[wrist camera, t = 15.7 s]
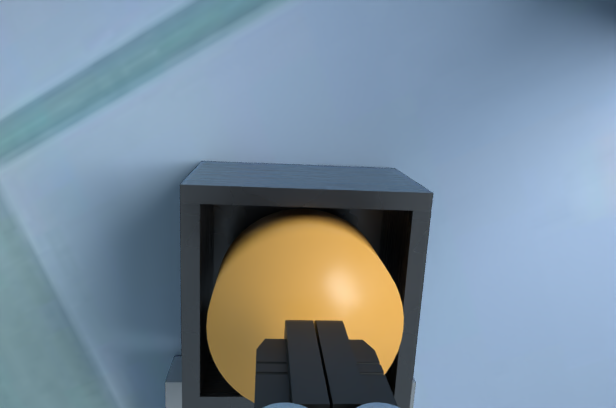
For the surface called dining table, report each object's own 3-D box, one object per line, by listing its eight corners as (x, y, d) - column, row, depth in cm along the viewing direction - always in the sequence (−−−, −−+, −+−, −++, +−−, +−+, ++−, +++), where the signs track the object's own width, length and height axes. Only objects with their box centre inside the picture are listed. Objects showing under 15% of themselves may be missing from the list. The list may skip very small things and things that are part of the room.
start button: (389, 211, 17) (412, 235, 14) (375, 363, 19) (394, 413, 16) (217, 205, 17) (206, 229, 14) (216, 362, 18) (206, 415, 15)
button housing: (395, 168, 21) (433, 193, 16) (379, 341, 22) (409, 411, 18) (201, 161, 20) (179, 184, 15) (201, 340, 22) (182, 412, 17)
